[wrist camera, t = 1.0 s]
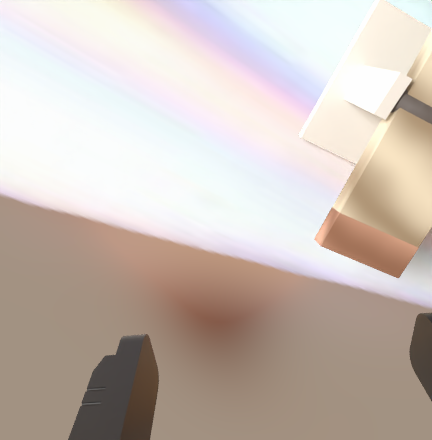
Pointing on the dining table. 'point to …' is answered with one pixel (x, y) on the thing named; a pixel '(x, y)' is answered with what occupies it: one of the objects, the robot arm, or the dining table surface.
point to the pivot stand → (366, 82)
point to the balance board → (389, 183)
